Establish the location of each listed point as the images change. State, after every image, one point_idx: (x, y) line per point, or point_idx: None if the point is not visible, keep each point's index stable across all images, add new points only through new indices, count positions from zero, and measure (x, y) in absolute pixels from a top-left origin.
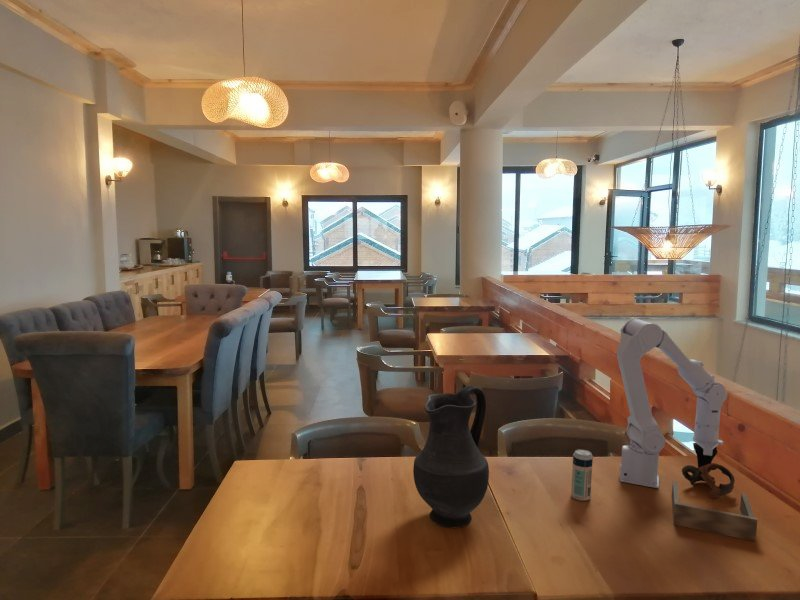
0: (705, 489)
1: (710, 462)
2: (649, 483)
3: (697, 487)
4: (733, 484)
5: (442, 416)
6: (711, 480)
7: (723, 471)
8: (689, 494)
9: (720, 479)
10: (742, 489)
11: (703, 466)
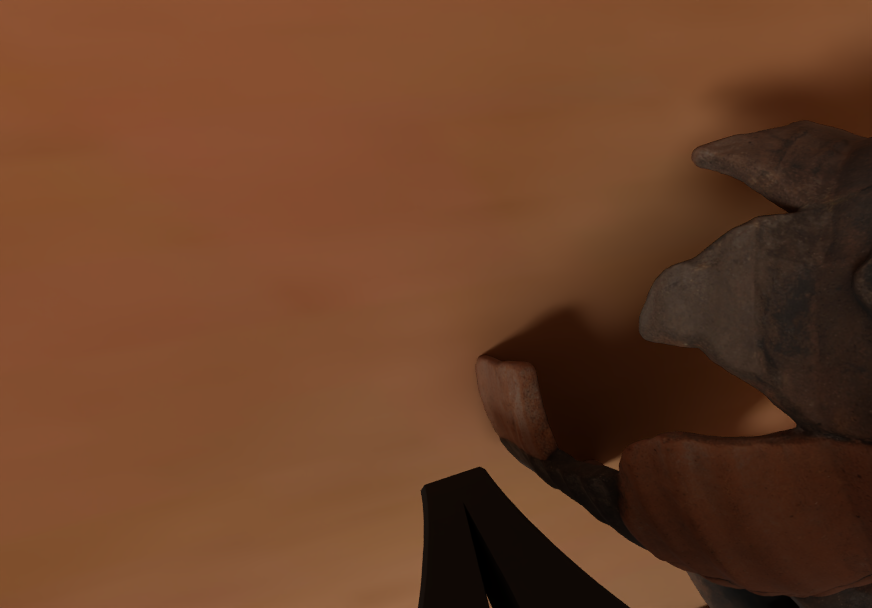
0: (651, 363)
1: (595, 582)
2: None
3: (642, 421)
4: (811, 128)
5: None
6: None
7: (816, 329)
8: None
9: (283, 310)
10: (430, 30)
11: (865, 584)
